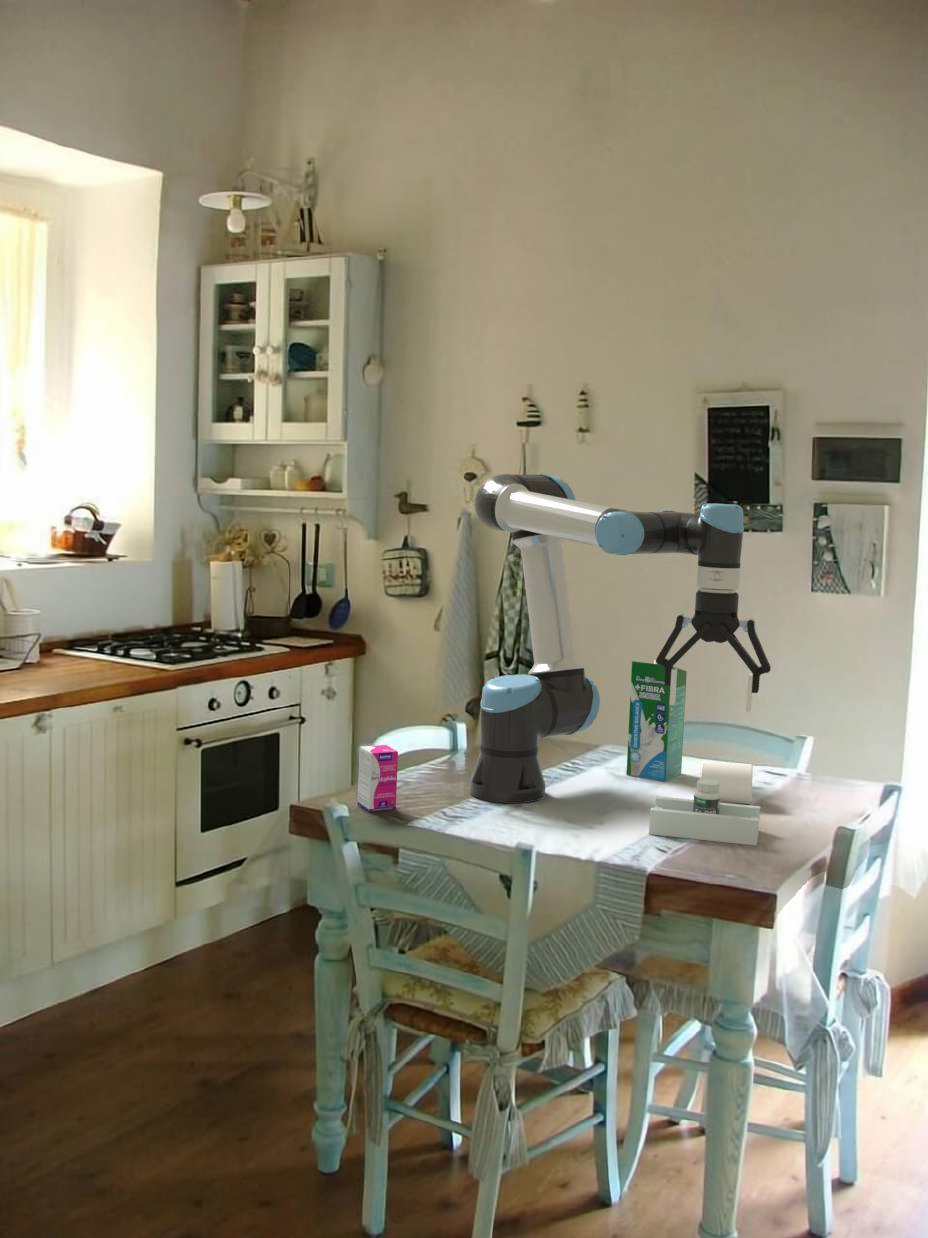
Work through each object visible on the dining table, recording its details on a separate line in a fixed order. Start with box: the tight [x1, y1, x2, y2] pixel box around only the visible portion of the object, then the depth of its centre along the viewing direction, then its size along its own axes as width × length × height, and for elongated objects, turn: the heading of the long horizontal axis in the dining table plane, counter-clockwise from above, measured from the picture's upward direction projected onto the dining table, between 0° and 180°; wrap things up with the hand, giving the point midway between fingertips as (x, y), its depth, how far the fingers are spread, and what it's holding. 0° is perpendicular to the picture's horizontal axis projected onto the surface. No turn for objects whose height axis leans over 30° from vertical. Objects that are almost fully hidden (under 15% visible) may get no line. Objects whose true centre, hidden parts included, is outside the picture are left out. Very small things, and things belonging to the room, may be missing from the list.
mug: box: [700, 760, 754, 805], centre depth 249 cm, size 12×10×8 cm
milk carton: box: [626, 659, 688, 782], centre depth 267 cm, size 9×9×25 cm
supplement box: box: [357, 744, 399, 813], centre depth 235 cm, size 6×6×12 cm
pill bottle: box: [693, 778, 721, 815], centre depth 225 cm, size 5×5×8 cm
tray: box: [648, 795, 761, 847], centre depth 225 cm, size 19×10×4 cm, turn 75°
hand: (710, 707), depth 224 cm, fingers open, 13 cm apart
